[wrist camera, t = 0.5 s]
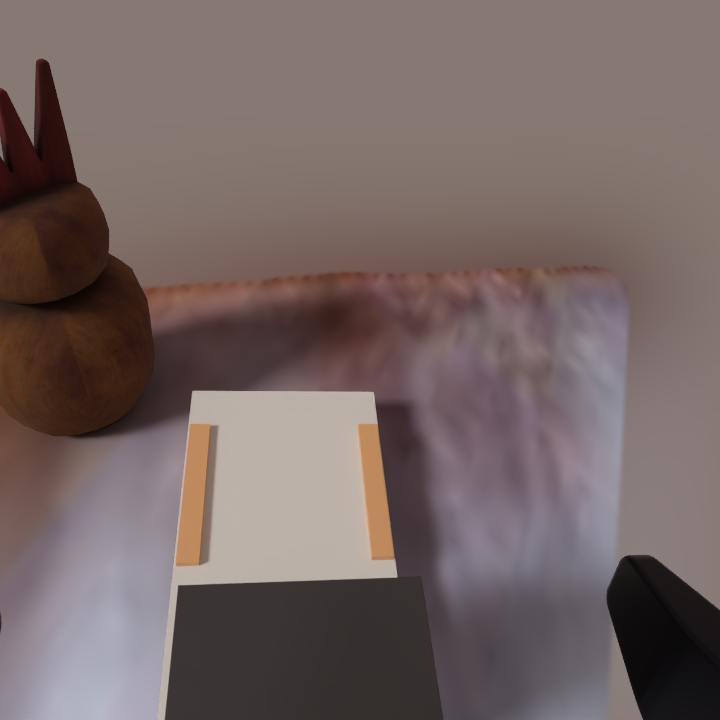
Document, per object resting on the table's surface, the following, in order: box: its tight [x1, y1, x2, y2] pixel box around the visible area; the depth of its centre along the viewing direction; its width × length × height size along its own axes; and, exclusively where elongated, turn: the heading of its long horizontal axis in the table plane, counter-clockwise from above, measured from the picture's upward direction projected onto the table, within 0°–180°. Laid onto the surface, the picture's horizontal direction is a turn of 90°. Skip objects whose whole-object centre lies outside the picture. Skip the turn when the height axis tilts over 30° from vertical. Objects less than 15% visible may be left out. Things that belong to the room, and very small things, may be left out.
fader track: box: [157, 391, 397, 720], centre depth 24 cm, size 18×8×2 cm, turn 5°
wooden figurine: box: [0, 59, 154, 436], centre depth 24 cm, size 7×6×15 cm
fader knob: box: [165, 577, 443, 720], centre depth 16 cm, size 6×5×8 cm
